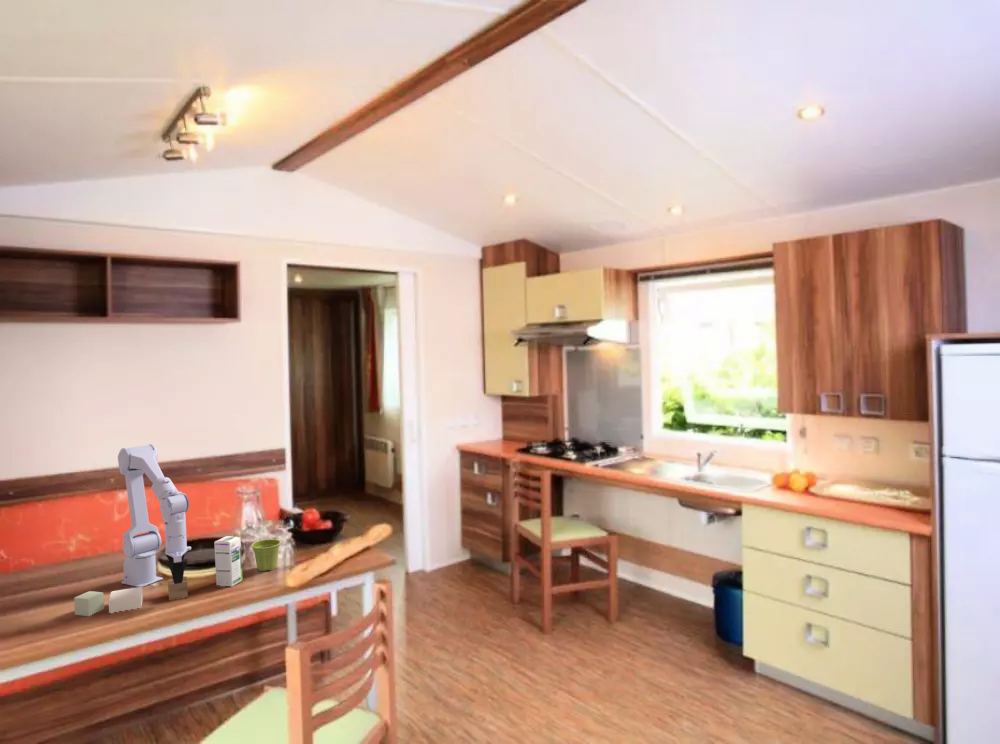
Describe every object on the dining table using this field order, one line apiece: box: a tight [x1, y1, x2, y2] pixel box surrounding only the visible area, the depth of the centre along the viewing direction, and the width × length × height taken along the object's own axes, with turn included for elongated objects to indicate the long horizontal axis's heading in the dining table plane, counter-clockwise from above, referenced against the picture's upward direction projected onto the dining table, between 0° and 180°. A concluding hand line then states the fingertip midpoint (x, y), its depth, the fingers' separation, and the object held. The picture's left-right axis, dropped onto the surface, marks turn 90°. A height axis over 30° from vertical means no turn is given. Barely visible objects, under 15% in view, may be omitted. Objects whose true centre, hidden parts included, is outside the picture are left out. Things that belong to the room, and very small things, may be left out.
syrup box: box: [214, 535, 244, 588], centre depth 206 cm, size 6×6×14 cm
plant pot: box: [250, 538, 282, 572], centre depth 219 cm, size 9×9×9 cm
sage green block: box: [73, 590, 105, 617], centre depth 185 cm, size 5×5×5 cm
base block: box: [108, 586, 144, 614], centre depth 189 cm, size 8×8×4 cm
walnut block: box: [167, 576, 189, 601], centre depth 196 cm, size 5×5×5 cm
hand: (177, 579), depth 195 cm, fingers open, 7 cm apart
